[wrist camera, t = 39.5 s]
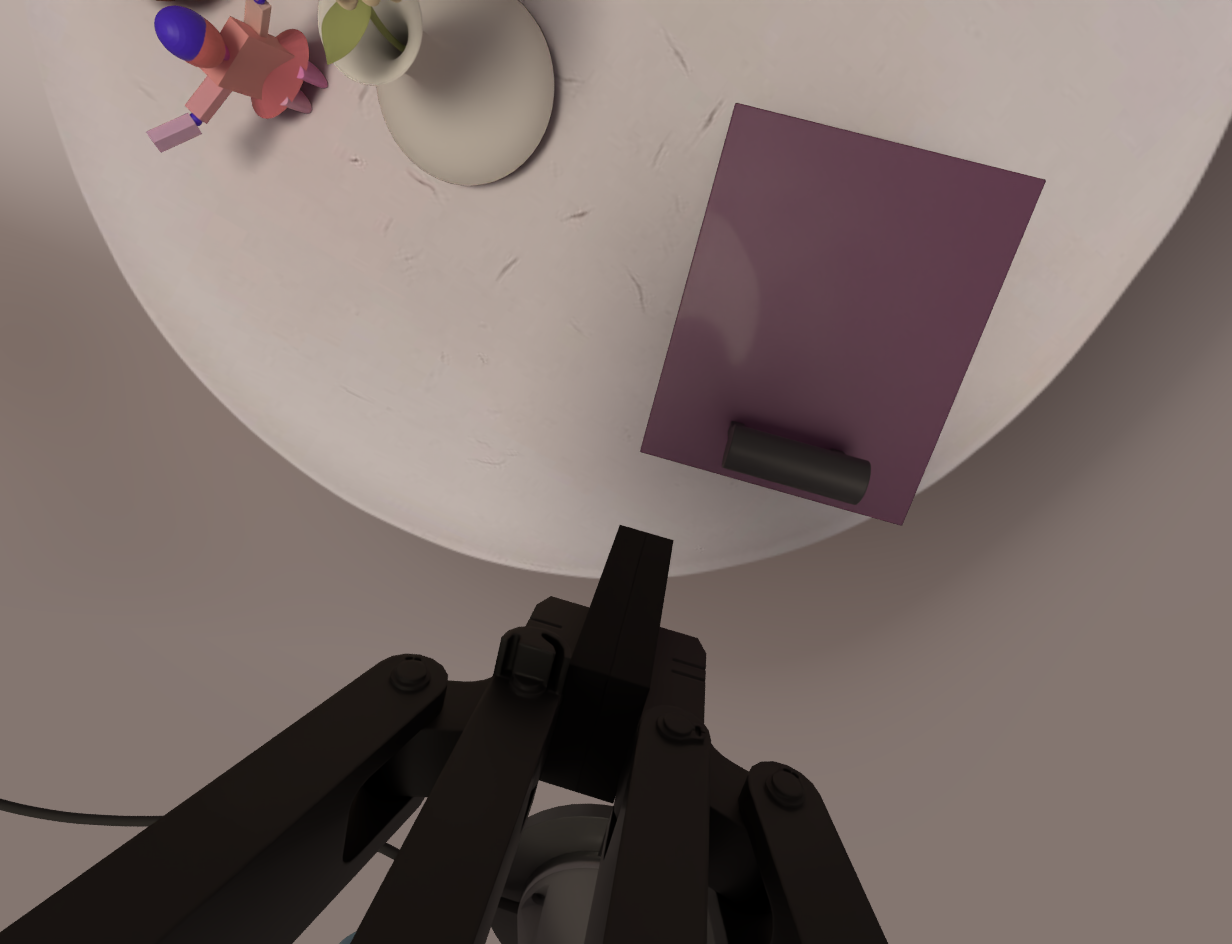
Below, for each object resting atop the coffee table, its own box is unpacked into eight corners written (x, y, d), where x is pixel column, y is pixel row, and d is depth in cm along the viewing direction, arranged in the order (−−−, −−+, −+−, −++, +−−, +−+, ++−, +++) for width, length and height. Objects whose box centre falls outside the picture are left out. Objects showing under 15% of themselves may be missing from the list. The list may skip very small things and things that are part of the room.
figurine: (230, 154, 47) (89, 125, 36) (316, -5, 43) (186, -89, 32) (269, 188, 47) (140, 169, 37) (358, 32, 43) (242, -39, 33)
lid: (898, 520, 34) (933, 567, 29) (641, 448, 35) (628, 480, 30) (1037, 182, 29) (1113, 161, 24) (734, 106, 30) (739, 69, 25)
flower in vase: (513, 220, 45) (292, 182, 22) (364, 133, 45) (-22, 0, 22) (604, 19, 41) (451, -299, 18) (440, -78, 41) (61, -535, 17)
